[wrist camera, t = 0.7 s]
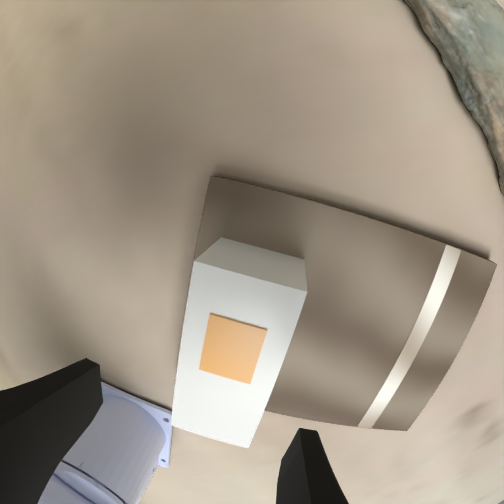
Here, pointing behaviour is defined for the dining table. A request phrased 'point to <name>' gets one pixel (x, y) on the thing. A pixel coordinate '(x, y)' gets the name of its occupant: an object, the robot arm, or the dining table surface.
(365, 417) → the subfloor panel
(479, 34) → the long grey stone
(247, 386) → the block
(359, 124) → the dining table surface
